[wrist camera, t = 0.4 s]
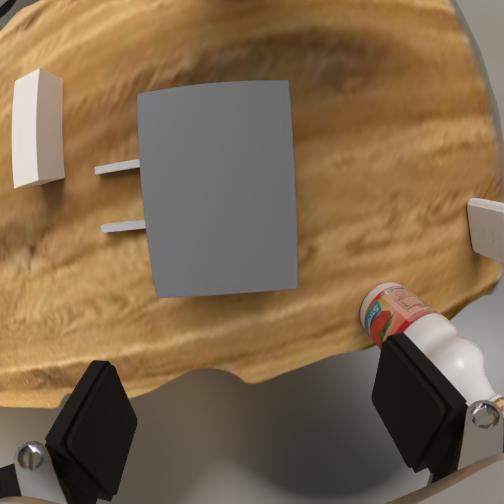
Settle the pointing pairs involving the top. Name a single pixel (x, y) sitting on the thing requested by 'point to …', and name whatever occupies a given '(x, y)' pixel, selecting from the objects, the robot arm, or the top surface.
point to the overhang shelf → (217, 188)
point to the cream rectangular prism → (37, 129)
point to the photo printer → (487, 228)
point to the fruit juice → (428, 338)
